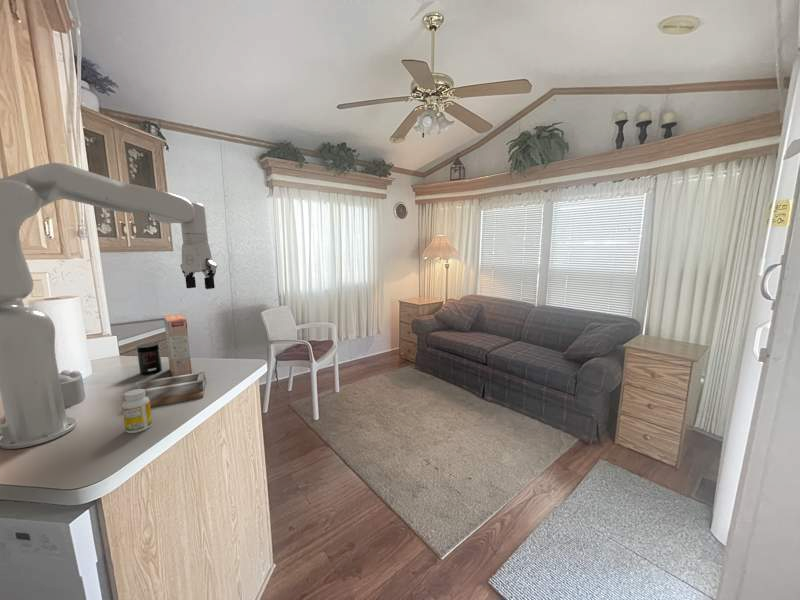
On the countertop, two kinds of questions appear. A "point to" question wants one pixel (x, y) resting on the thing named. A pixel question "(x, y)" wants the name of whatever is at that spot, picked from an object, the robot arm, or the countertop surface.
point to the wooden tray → (174, 388)
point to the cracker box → (177, 345)
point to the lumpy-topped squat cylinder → (72, 387)
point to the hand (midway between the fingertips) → (200, 288)
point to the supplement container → (149, 358)
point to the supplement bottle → (136, 411)
